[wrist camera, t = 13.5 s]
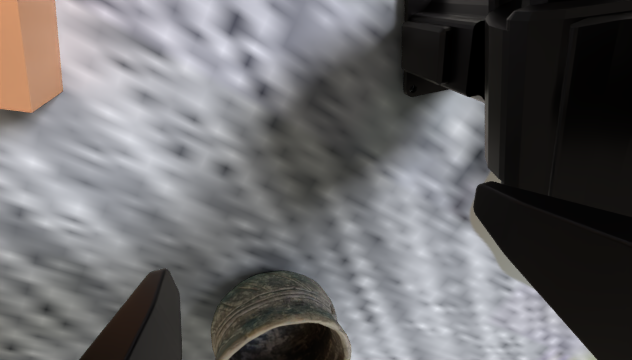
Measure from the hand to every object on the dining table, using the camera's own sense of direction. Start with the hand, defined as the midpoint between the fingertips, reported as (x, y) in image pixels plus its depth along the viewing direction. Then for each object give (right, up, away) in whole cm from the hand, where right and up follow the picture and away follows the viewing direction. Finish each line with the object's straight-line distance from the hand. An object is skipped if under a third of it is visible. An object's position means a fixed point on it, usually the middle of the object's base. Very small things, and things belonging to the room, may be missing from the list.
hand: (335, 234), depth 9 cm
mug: (-3, -9, +20) cm, 22 cm away
